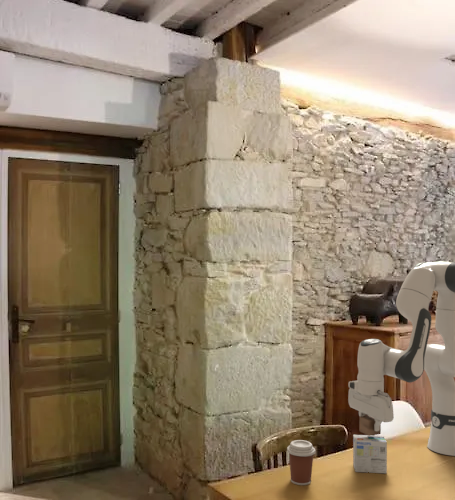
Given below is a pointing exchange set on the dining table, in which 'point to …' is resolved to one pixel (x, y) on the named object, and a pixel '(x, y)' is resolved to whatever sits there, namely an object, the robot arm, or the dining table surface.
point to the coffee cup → (301, 461)
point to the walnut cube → (368, 425)
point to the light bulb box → (369, 454)
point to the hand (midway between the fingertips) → (370, 427)
